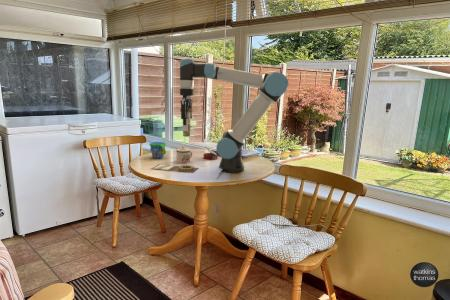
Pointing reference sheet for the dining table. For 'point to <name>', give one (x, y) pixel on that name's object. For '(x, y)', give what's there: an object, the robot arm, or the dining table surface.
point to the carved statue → (187, 133)
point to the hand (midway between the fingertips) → (186, 130)
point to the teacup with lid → (183, 155)
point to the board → (176, 168)
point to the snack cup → (158, 149)
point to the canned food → (210, 155)
